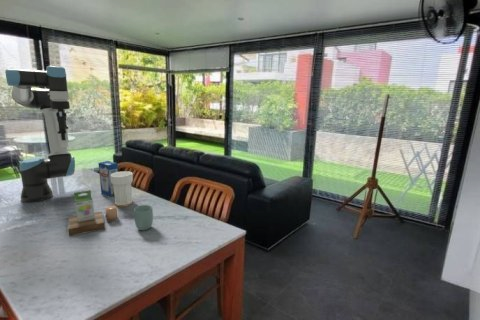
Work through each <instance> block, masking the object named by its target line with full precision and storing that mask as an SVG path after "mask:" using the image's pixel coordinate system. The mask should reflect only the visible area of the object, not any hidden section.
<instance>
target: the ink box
mask: <svg viewBox="0 0 480 320" xmlns="http://www.w3.org/2000/svg"><path fill="white" fill-rule="evenodd" d="M82 194H85V195H82ZM74 204H75V205H74V206H75V211H76V212H75V213H76V216H77V221H78V223H79V222H84V221H89V220H94V219H95V216H94V213H95V209H94V201H93V197H92V191H91V189H90V190H84V191H83V190H82V191H76V192H74Z"/></svg>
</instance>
